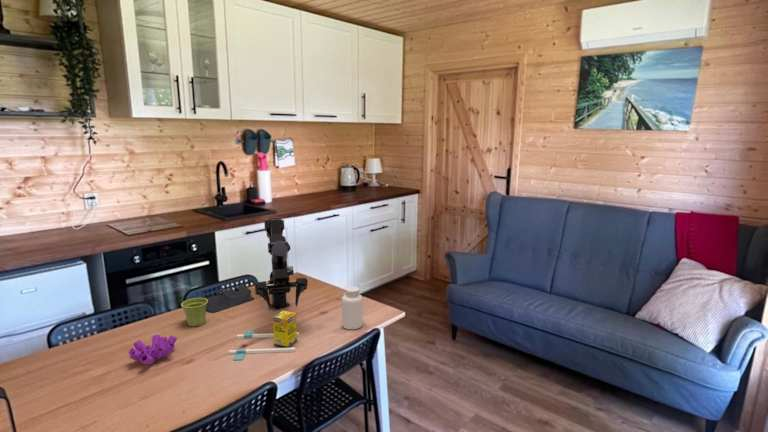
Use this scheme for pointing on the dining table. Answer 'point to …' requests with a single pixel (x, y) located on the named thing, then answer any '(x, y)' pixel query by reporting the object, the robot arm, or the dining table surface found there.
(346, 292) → the pill bottle
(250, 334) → the channel
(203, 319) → the plant pot
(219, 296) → the dark slate chunk
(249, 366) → the dining table surface
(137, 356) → the purple coral
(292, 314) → the supplement box
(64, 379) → the dining table surface
